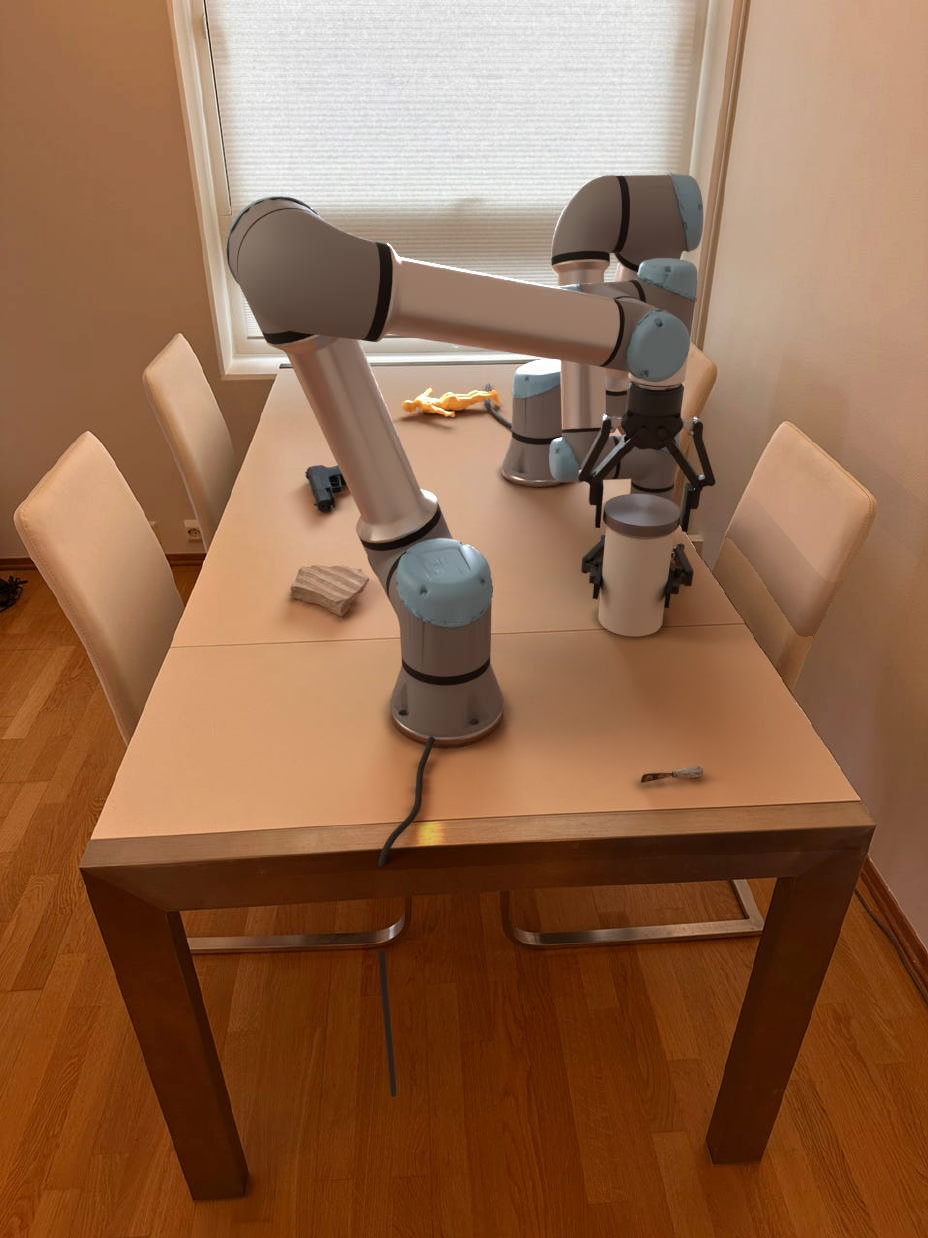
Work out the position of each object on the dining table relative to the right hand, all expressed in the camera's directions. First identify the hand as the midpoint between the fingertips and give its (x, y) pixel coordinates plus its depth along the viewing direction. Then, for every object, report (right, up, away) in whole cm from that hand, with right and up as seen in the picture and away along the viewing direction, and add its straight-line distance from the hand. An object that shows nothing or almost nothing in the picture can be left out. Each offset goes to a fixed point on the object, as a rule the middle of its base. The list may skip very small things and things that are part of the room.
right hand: (631, 595), depth 134 cm
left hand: (+1, +10, -1) cm, 10 cm away
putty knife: (0, -23, -24) cm, 34 cm away
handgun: (-51, +22, +49) cm, 74 cm away
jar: (+1, -4, +7) cm, 8 cm away
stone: (-47, 0, +14) cm, 49 cm away
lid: (+1, +12, -3) cm, 13 cm away
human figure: (-28, +49, +92) cm, 108 cm away
